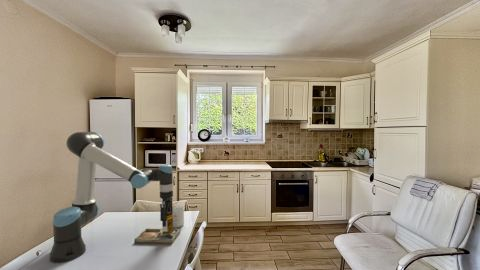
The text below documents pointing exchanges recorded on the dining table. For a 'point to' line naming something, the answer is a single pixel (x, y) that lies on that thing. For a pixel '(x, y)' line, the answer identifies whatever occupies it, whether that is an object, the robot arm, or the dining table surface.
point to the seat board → (156, 237)
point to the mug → (178, 217)
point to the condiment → (169, 224)
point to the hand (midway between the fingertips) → (167, 228)
